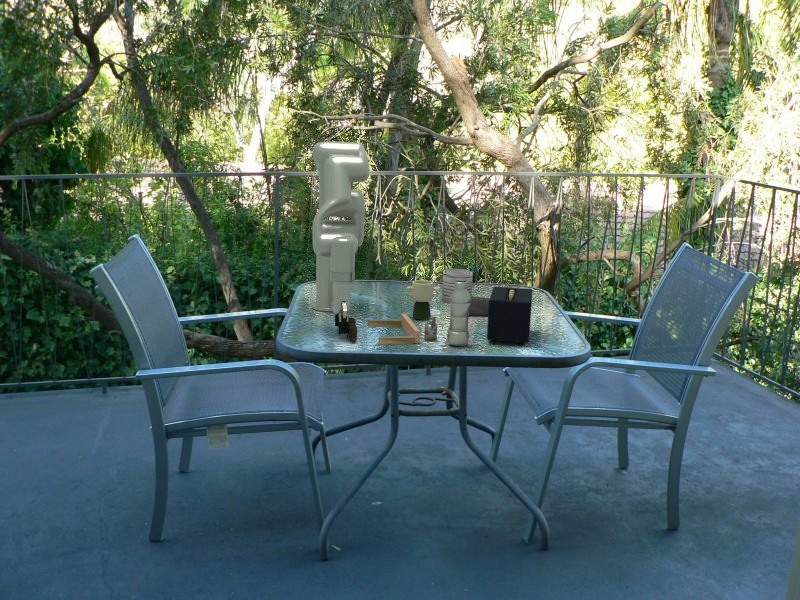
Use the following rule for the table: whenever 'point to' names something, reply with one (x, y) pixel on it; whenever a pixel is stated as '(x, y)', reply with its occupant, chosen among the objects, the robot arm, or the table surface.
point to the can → (450, 279)
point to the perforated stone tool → (479, 306)
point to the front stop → (410, 328)
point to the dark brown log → (352, 330)
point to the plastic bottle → (459, 314)
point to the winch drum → (431, 330)
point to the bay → (391, 339)
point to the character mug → (422, 297)
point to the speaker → (509, 315)
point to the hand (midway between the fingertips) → (341, 330)
